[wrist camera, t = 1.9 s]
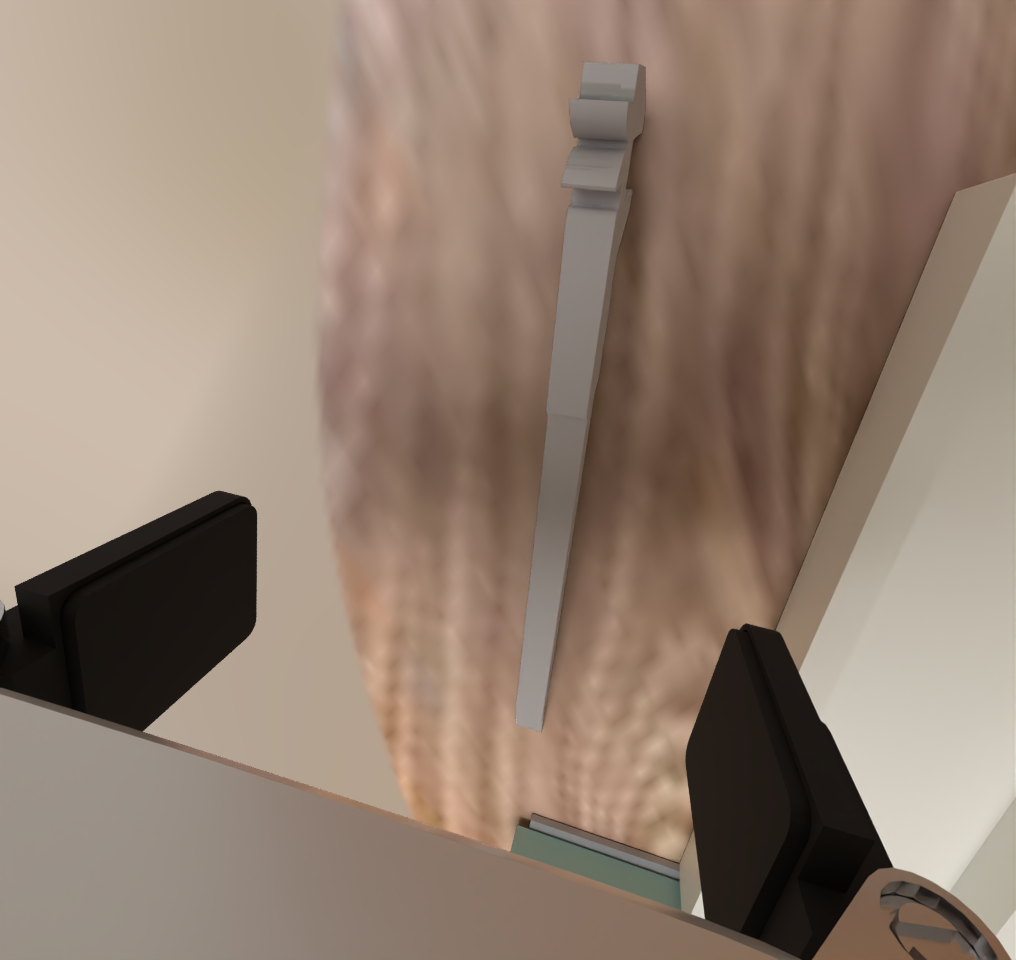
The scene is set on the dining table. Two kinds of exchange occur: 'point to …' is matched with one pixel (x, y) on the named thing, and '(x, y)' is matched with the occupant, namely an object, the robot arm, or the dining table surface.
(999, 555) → the housing
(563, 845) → the gate
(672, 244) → the dining table surface
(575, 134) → the caliper
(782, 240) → the dining table surface
